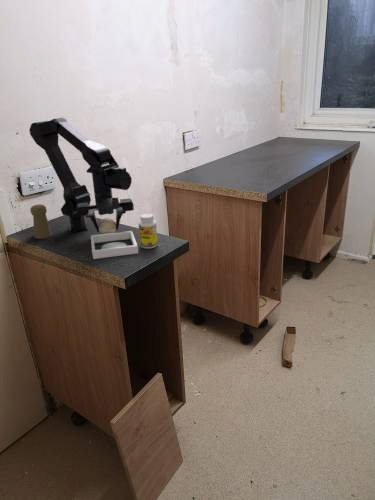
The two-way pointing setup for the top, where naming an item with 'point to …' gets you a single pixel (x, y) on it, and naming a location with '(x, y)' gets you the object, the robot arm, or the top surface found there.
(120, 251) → the white square frame
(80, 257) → the top surface
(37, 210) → the cork
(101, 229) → the wooden ball
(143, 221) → the supplement bottle
